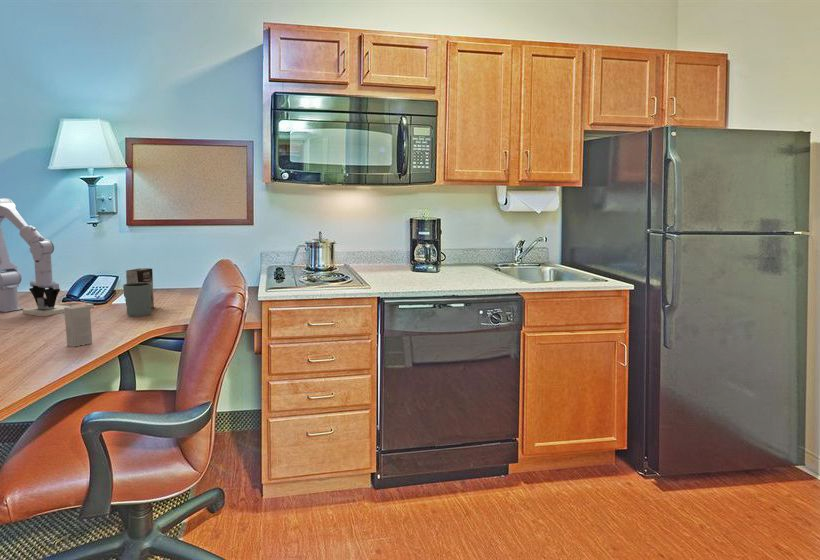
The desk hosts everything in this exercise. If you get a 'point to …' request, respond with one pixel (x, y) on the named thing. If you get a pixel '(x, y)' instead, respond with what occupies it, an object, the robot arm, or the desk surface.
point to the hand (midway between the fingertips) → (45, 306)
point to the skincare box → (78, 325)
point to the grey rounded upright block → (138, 298)
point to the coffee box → (141, 278)
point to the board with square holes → (55, 309)
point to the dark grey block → (43, 304)
